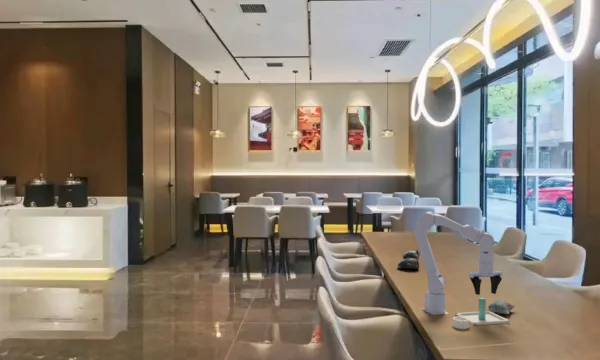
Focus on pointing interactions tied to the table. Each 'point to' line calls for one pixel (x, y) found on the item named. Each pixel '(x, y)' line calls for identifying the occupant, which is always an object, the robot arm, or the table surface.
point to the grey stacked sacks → (410, 260)
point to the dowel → (482, 309)
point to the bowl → (460, 322)
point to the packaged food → (500, 307)
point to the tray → (490, 319)
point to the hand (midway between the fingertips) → (485, 293)
